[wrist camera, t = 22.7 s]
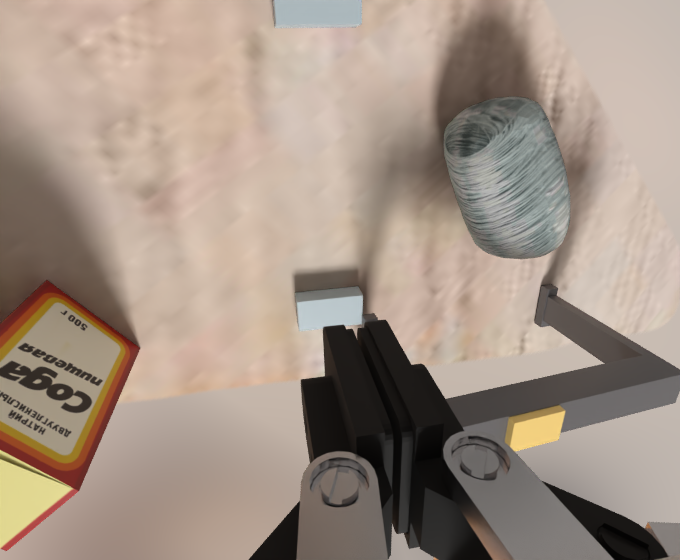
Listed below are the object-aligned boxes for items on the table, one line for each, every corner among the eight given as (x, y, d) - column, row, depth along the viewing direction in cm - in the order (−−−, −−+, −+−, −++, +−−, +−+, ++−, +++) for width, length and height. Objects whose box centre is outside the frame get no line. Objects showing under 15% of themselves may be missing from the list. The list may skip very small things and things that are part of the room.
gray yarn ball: (407, 125, 33) (533, 144, 26) (480, 71, 36) (608, 75, 30) (432, 259, 42) (531, 299, 35) (489, 205, 45) (589, 232, 38)
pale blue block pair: (270, -22, 30) (272, -29, 28) (355, -21, 31) (361, -28, 29) (297, 320, 42) (299, 331, 40) (358, 313, 43) (363, 324, 41)
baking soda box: (-5, 328, 37) (-171, 485, 22) (46, 280, 36) (-91, 410, 22) (91, 390, 41) (3, 556, 26) (140, 348, 40) (76, 496, 26)
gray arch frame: (551, 284, 45) (698, 368, 32) (544, 320, 47) (680, 415, 34) (361, 315, 40) (440, 430, 27) (361, 354, 42) (436, 481, 29)
